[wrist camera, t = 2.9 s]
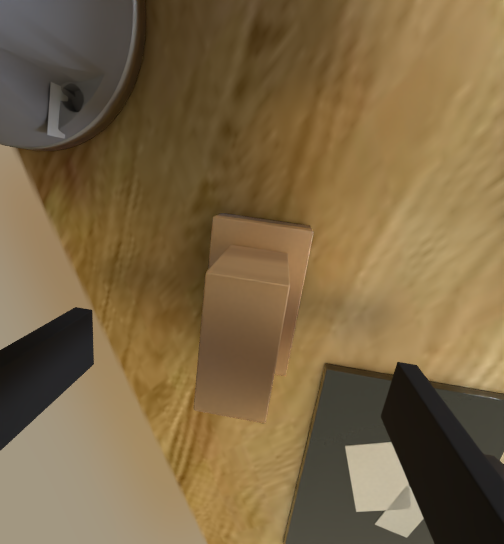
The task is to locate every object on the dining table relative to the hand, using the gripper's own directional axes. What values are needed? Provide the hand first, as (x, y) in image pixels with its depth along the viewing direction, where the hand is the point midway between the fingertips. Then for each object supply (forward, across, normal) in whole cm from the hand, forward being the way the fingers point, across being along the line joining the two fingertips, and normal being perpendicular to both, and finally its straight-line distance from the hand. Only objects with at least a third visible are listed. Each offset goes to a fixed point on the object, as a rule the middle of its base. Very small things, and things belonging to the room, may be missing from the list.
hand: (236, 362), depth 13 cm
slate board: (+9, +13, -15) cm, 22 cm away
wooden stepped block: (+9, 0, 0) cm, 9 cm away
